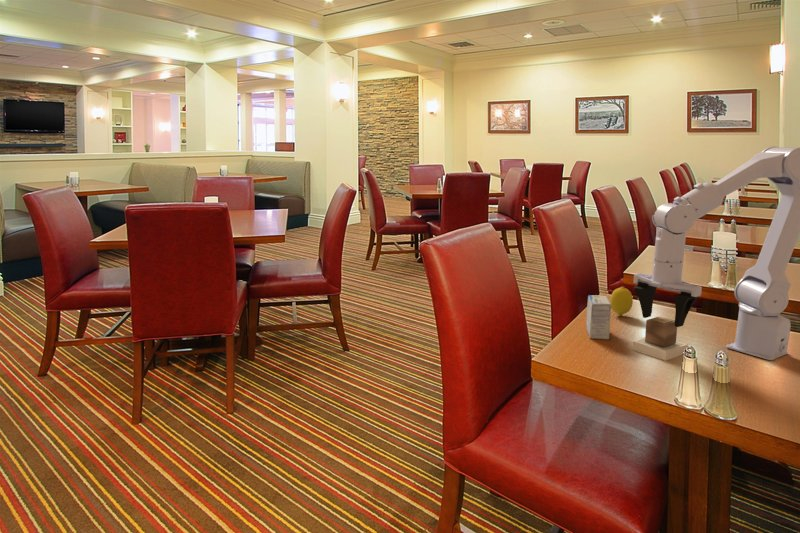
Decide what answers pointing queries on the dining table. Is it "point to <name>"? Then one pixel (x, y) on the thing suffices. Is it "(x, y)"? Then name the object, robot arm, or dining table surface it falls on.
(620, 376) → the dining table surface
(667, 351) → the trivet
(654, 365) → the dining table surface
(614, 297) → the lemon
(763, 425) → the dining table surface
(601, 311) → the medicine box
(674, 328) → the walnut block
